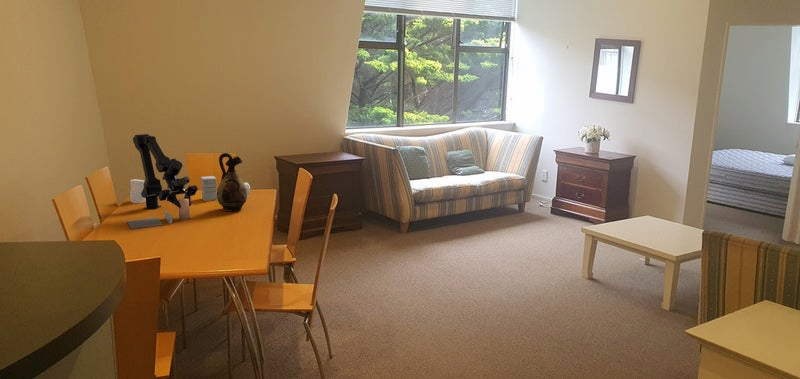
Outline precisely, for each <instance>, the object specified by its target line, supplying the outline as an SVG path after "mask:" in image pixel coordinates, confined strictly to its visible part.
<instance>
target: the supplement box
mask: <svg viewBox="0 0 800 379" xmlns="http://www.w3.org/2000/svg"><path fill="white" fill-rule="evenodd" d="M200 179H201V180H200V183H201V196H202V197H201V198H202V199H203V201H204V202H209V201H218V200H217V189H218V187H217V178H216V177H215V176H214V175H209V176H208V175H207V176H200Z"/></svg>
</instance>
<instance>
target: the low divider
mask: <svg viewBox="0 0 800 379" xmlns="http://www.w3.org/2000/svg"><path fill="white" fill-rule="evenodd" d="M164 219H165V220H166V221H167V222H168V223H169V224H170V225H171V224H173V217H172V215H171V214H170V213H169V212H168V211H166V210H165V211H164Z"/></svg>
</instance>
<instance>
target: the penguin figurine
mask: <svg viewBox="0 0 800 379" xmlns="http://www.w3.org/2000/svg"><path fill="white" fill-rule="evenodd" d="M243 183H244V185H245V187H246V191H247V198H249V196H250V193H251V186H250V184H249V182H243Z"/></svg>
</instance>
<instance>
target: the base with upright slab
mask: <svg viewBox="0 0 800 379" xmlns="http://www.w3.org/2000/svg"><path fill="white" fill-rule="evenodd" d="M129 182H130V191H129V198H130V203H131V202H133V203H132V204H143V202H145V203H146V198H144V197H142V195H141V192H142V190H143V188H144V185H143V184H144V182H145V180H143V179H138V178H135V179H130V181H129Z"/></svg>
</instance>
